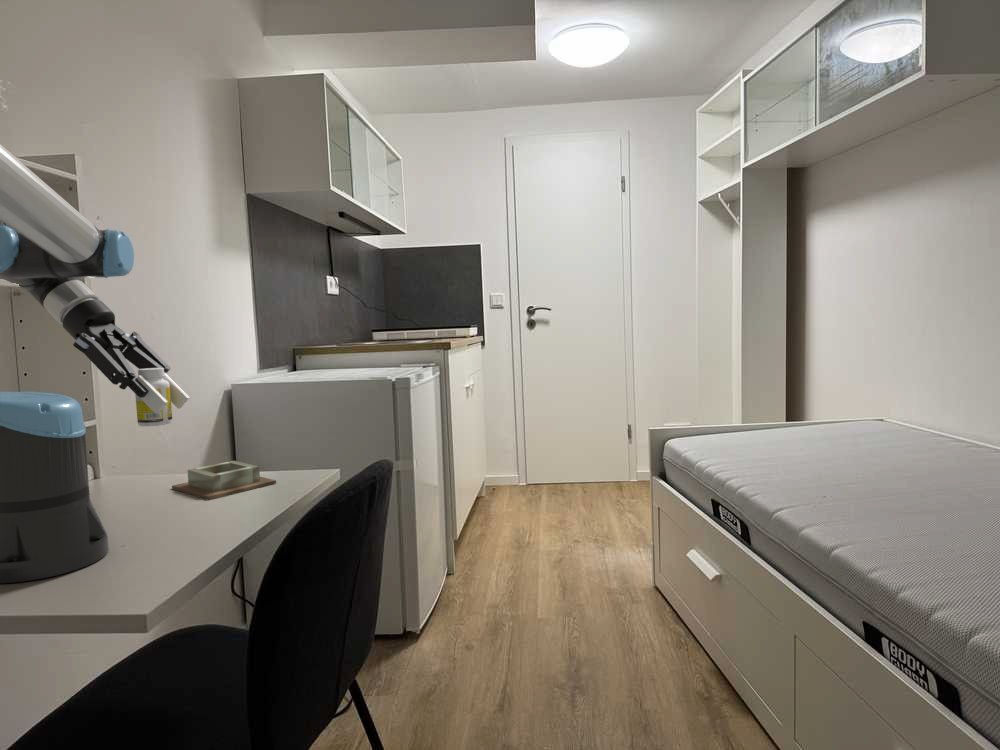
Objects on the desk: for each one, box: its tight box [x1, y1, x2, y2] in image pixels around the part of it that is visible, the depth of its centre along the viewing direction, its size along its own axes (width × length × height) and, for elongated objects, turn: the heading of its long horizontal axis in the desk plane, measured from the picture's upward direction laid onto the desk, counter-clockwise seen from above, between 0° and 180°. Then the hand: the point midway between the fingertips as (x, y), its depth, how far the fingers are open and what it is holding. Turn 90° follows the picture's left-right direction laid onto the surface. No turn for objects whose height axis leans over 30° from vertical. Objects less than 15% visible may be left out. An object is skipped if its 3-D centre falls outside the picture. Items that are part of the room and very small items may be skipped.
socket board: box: [171, 460, 277, 501], centre depth 129 cm, size 14×14×4 cm
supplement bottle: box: [134, 368, 173, 427], centre depth 114 cm, size 5×5×10 cm
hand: (173, 405), depth 114 cm, fingers closed on supplement bottle, 5 cm apart
